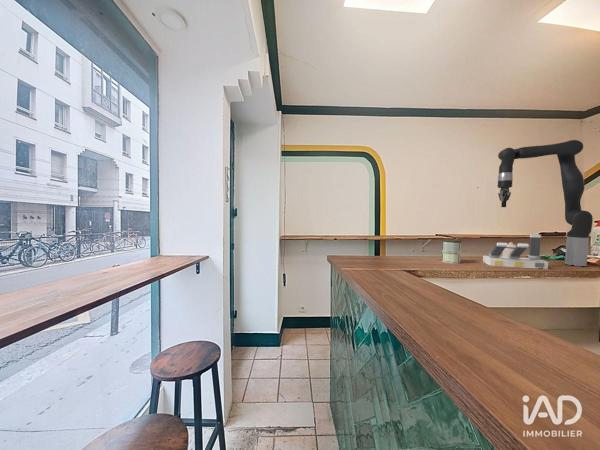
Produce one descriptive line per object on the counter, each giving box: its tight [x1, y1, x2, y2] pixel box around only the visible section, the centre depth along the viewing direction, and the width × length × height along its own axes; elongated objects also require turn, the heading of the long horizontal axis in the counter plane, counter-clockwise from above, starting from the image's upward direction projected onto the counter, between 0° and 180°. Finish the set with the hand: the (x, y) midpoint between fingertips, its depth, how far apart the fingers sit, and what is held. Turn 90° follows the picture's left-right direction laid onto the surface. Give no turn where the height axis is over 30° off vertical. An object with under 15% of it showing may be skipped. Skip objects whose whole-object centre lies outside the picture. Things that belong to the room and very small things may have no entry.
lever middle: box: [508, 242, 530, 259], centre depth 156 cm, size 5×2×15 cm
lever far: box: [488, 242, 508, 258], centre depth 159 cm, size 5×2×15 cm
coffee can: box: [441, 238, 462, 264], centre depth 170 cm, size 10×10×14 cm
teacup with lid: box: [501, 241, 517, 257], centre depth 181 cm, size 12×9×12 cm
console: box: [482, 255, 549, 270], centre depth 161 cm, size 28×12×4 cm, turn 73°
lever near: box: [527, 233, 542, 260], centre depth 158 cm, size 5×2×15 cm, turn 73°
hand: (503, 207), depth 173 cm, fingers closed
